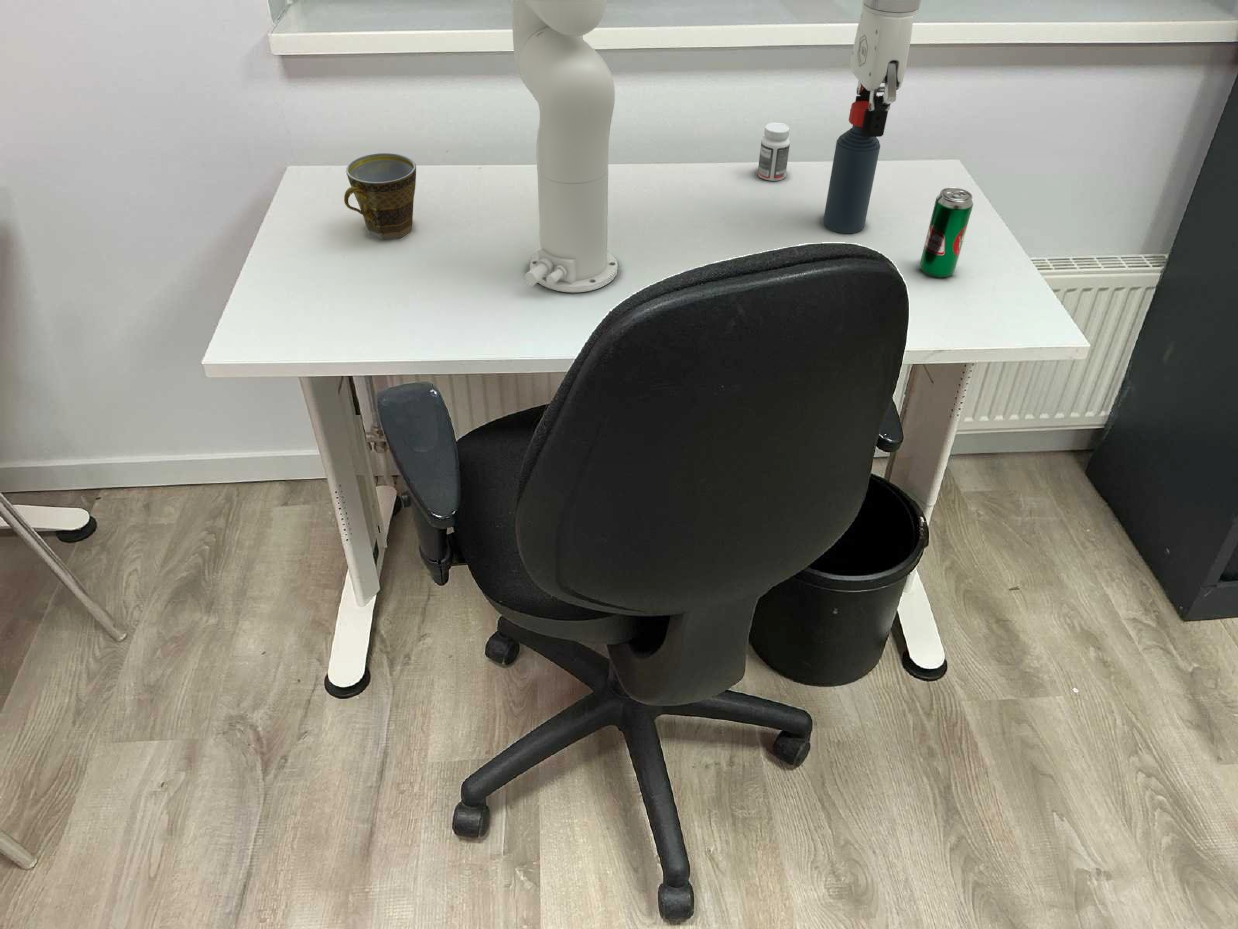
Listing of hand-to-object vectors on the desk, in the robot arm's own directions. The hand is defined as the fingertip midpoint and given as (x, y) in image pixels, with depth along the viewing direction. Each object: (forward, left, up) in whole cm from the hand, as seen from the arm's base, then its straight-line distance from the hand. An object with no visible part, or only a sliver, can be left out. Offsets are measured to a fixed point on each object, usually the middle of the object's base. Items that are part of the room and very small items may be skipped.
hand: (867, 128), depth 146 cm
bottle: (-1, +1, -15) cm, 15 cm away
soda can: (-7, -16, -15) cm, 23 cm away
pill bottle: (+9, +17, -15) cm, 25 cm away
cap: (-1, +1, +3) cm, 3 cm away
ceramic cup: (-41, +59, -15) cm, 74 cm away
